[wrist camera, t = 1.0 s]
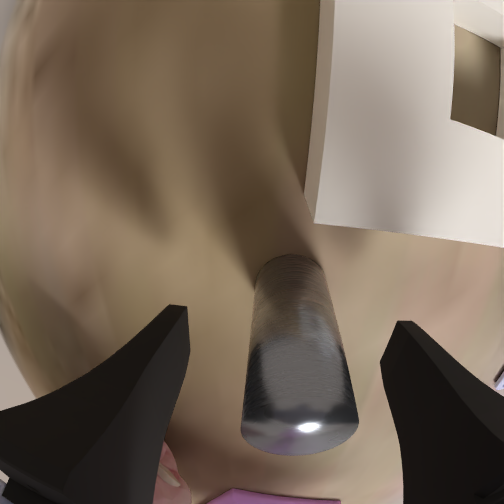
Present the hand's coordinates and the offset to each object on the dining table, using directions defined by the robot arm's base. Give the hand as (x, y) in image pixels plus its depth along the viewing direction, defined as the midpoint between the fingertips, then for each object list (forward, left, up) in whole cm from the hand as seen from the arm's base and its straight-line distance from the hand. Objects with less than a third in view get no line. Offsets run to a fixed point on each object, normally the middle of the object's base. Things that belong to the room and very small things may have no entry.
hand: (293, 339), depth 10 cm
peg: (0, 0, -3) cm, 3 cm away
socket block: (-6, -10, -3) cm, 12 cm away
